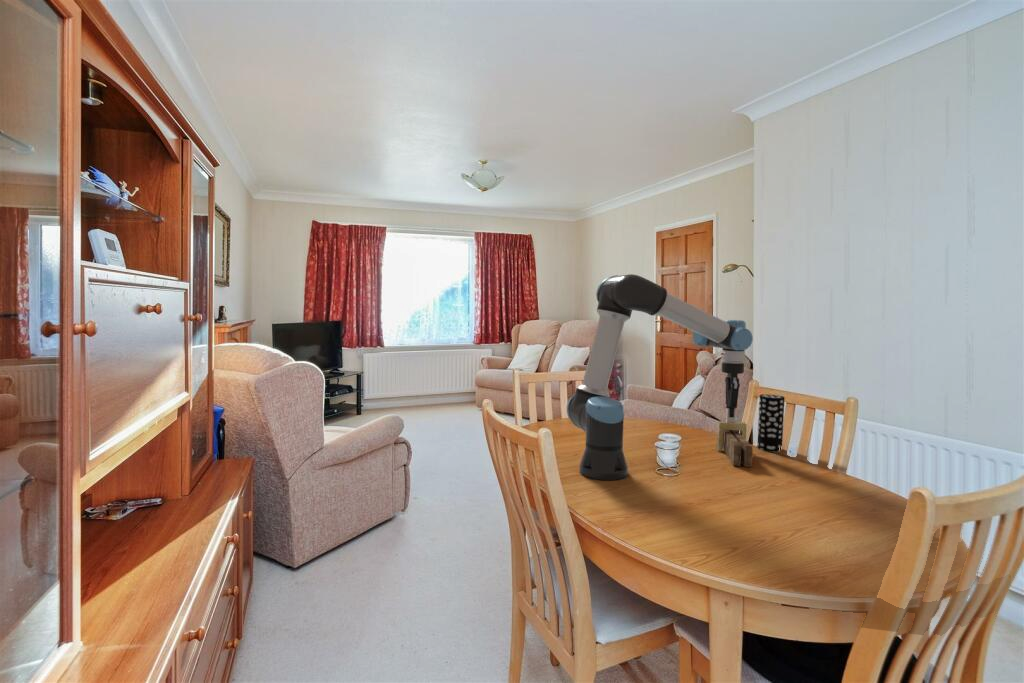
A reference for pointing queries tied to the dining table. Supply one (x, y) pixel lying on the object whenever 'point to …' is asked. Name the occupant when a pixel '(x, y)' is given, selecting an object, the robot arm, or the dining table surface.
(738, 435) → the jaw
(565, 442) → the dining table surface
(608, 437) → the robot arm
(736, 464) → the jaw
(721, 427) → the lock cuff
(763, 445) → the white-spotted black cylinder
